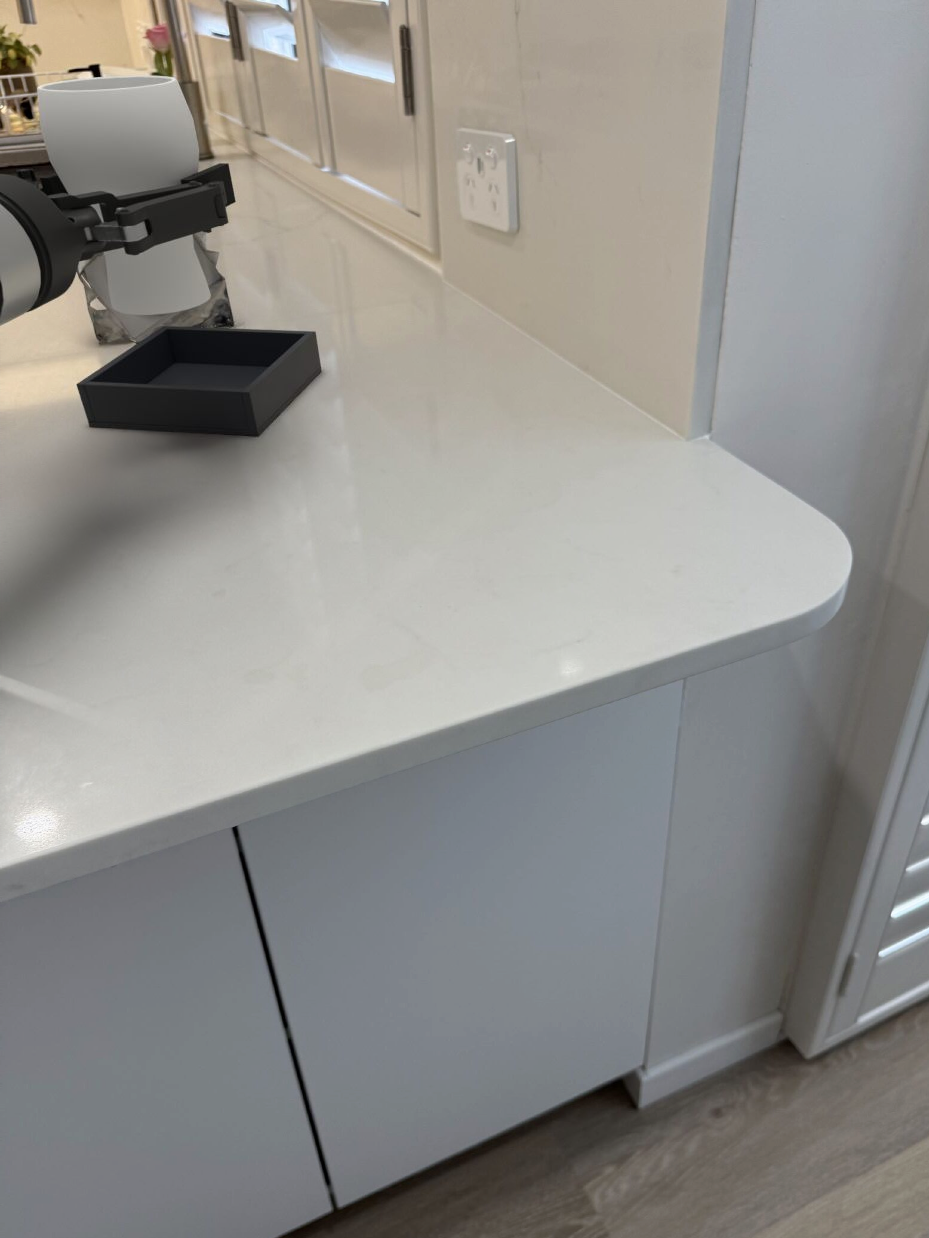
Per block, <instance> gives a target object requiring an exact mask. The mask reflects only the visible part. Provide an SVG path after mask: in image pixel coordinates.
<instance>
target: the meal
mask: <svg viewBox="0 0 929 1238" xmlns="http://www.w3.org/2000/svg"><path fill="white" fill-rule="evenodd" d="M193 243H194V250H195V252H196V255H197V258H198V260H199V263H200V265H201V268H202V270H203V273H204V276H205V278H206V281H207V284H208V287H209V290H210V293H211V297H210V299H209V300H208V301H207V302H205V303H203V304H201V305H199V306H196V307H193V308H190V309H187V310H183V311H178V312H173V313H166V314H156V315H133V314H125V313H121V312H118V311H116V310H114V309H113V308H112V305H111V299H110V293H109V286H108V277H107V268H106V259H105V255H104V253H103V252H102V253H97V254H94V256H93V257H92V258H91V259H89V260H84V261H80V262H79V265H78V268H77V272H76V275H77V277H78V280H79V281H80V283H81V285H83V290H84V295H85V300H86V305H87V312H88V315H89V318H90V320H91V321H90V322H91V324H92V327H93V330H94V335H95V338H96V340H97V341H98V342H105V343H107V344H108V343H111V342H113V341H116V340H119V339H121V338H122V339H127V340H129V341H132V342H134V343H136V344H137V343H139V342H140V341H142V340H143V339H145V338H146V337H148V336H149V335H151V334H152V333H154V332H155V331H157V330H158V329H160V328H161V327H163V326H177V327H205V328H210V327H214V326H215V327H216V326H228V327H229V326H232V327H233V326H235V320H234V315H233V311H232V306H231V301H230V296H229V292H228V288H227V282H226V278H225V276H224V275H223V274H221V273H220V272H219V270H218V269H217V264H218V260H219V256H220V252H219V251H215V250H210V249H207V248H208V247H207V232H206V233H205V232H198V233H195V234H193ZM96 299H97V300H98V301H99V303H101V305H102V306H103V307H104V308H105V309H96V308H95V307H92V306H91V303H92V302H93V301H95V300H96ZM228 321H229V322H228Z"/></svg>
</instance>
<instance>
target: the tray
mask: <svg viewBox="0 0 929 1238" xmlns="http://www.w3.org/2000/svg"><path fill="white" fill-rule="evenodd" d="M319 351H320V350H319V344H318V338H317V332H316V331H308V330H287V329H283V330H282V329H256V328H254V329H253V328H252V329H251V328H230V327H177V326H163V327H161V328H160V329H158V330H157V331H155V332H154V333H152V334H151V335H149V336H148V337H146V338H145V339H143V340H142V341H140V342H137V343H136V344H135V345H133V346H131V347H130V348H128V349H127V350H125V351H124V352H122V353H121V354H119V355H118V356H116V357H115V358H114V359H112V360H111V361H109V362H108V363H105V364H104V365H103V366H101V367H100V368H98V369H97V370H95V371H94V372H92V373H91V374H89V375H88V376H87V377H85V378H83V379H81V380H80V381H79V382H77V383H76V388H77V391H78V394H79V398H80V401H81V404H82V406H83V407H82V408H83V410H84V413H85V416H86V419H87V423H88V427H90V428H91V427H92V428H108V429H124V430H125V429H126V430H127V429H128V430H143V431H145V430H146V431H161V432H178V433H179V432H181V433H194V434H195V433H197V434H214V435H215V434H217V435H232V436H234V435H235V436H251V437H259V436H260V435H261V434H262V433H263V432H264V431H265V430H266V429H267V428H268V427H269V426H270V425H271V424H272V423H273V422H274V421H275V420H276V419H277V418H278V416H280V414H282V412H283V411H285V410H286V408H288V406H289V405H290V404H291V403H292V402H293V401H294V400H295V399H296V398H297V397H298V396H299V395H300V394H301V393H302V392H303V391H304V390H305V389H306V388H307V387H308V386H309V385H310V384H311V383H312V381H314V379H315V378H317V376H318V375H319V374H320V373H321V372H322V366H321V357H320V352H319Z"/></svg>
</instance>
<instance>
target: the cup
mask: <svg viewBox="0 0 929 1238" xmlns="http://www.w3.org/2000/svg"><path fill="white" fill-rule="evenodd" d="M36 93H37V104H38V105H37V106H38V114H39V129H40V133H41V135H42V140H43V142H44V147H45V149H46V153H47V156H48V159H49V162H50V164H51V166H52V167H53V169H54V171H55V173H57V174H58V176H59V178H60V180H61V181H62V183H63V185H64V187H65V189H66V190H67V192H68V194H70V195H73V196H74V195H80V194H85V193H91V192H96V191H104V192H108V193H111V194H113V195H114V196H115V197H116V196H122V195H127V194H132V193H138V192H143V191H149V190H154V189H160V188H165V187H171V186H176V185H181V179H183V178H186V177H188V176H191V175H193V174H195V173H198V172H199V168H200V167H199V164H200V146H199V141H198V136H197V132H196V126H195V121H194V120H195V119H194V118H193V115H192V112H191V110H190V107H189V105H188V103H187V101H186V98H185V95H184V93H183V90H182V88H181V86H180V83H179V81H178V79H177V78H176V77H173V76H165V75H116V76H111V75H110V76H98V77H87V78H75V79H67V80H59V81H53V82H48V83H44V84H41V85H38V86H37V88H36ZM91 206H92V207H93V208H94V209H95V210H96V211H97V213H98V215H99V217H100V219H101V221H102V222H104V221H103V217H102V213H101V210H100V206H99V204H93V205H91ZM103 253H104V255H105V259H106V268H107V277H108V286H109V293H110V299H111V305H112V308H113V309H114V310H116V311H118V312H121V313H125V314H133V315H156V314H166V313H173V312H178V311H183V310H187V309H190V308H193V307H196V306H199V305H201V304H203V303H205V302H207V301H208V300H209V299H210V297H211V293H210V290H209V287H208V284H207V281H206V278H205V276H204V273H203V270H202V268H201V265H200V263H199V260H198V258H197V255H196V252H195V250H194V243H193V234H192V235H189V236H185V237H182V238H179V239H176V240H172V241H169V242H166V243H163V244H159V245H156V246H154V247H152V248H150V249H148V250H146V251H145V252H143V253H139V255H128V254H126V253H125V250H124V247H123V248H120V249H115V250H111V251H106V252H103Z"/></svg>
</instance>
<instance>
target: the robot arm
mask: <svg viewBox="0 0 929 1238" xmlns="http://www.w3.org/2000/svg"><path fill="white" fill-rule="evenodd" d="M15 173H16V176H15V175H11V174H6V173H5V174H4V173H0V327H1V326H3V325H5V324H7V323H9V322H11V321H13V320H15V319H17V318H19V317H21V316H23V315H25V314H26V313H29V312H32V311H34V310H37V309H38V308H40V307H43V306H44V305H46V304H49V303H50V302H52V301H54V300H55V299H58V298H59V297H61V296H63V295H64V294H65V293H66V292H67V291H68V290H69V289H70V288H71V286H72V285H73V283H74V280H75V278H76V275H77V268H78V265H79V262H80V261H84V260H89V259H91V258H92V257H93V256H94V254H97V253H102V252H106V251H111V250H115V249H120V248H123V247H124V250H125V253H126V254H128V255H139V253H143V252H145V251H146V250H148V249H150V248H152V247H154V246H156V245H159V244H163V243H166V242H169V241H172V240H176V239H179V238H182V237H185V236H189V235H192V234H195V233H198V232H205V233H206V234H210V233H213V231H212V230H213V229H215V228H218V227H223V226H225V225H227V224H229V217H228V213H227V207H229V206H231V205H233V204H235V203H236V195H235V191H234V186H233V180H232V174H231V169H230V164H229V163H227V162H226V163H224V162H219V163H217V164H214V165H212V166H210V167H207V168H205V169H203V170H199V171H198V173H195V174H193V175H191V176H188V177H186V178H183V179H181V185H176V186H171V187H165V188H160V189H154V190H149V191H143V192H138V193H132V194H127V195H122V196H116V197H115V196H114V195H113V194H111V193H108V192H104V191H96V192H91V193H85V194H80V195H74V196H73V195H70V194H68V192H67V190H66V189H65V187H64V185H63V183H62V181H61V180H60V178H59V176H58V174H57V173H56V172H52V173H50V174H47V175H43V176H41V177H39V181H40V183H39V182H38V180H37V176H36V173H35V170H34V169H33V168H22V169H18V170H17V169H16V171H15ZM93 204H99V206H100V210H101V213H102V217H103V221H104V222H102V221H101V219H100V217H99V215H98V213H97V211H96V210H95V209H94V208H93V207H92V206H91V205H93Z"/></svg>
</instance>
